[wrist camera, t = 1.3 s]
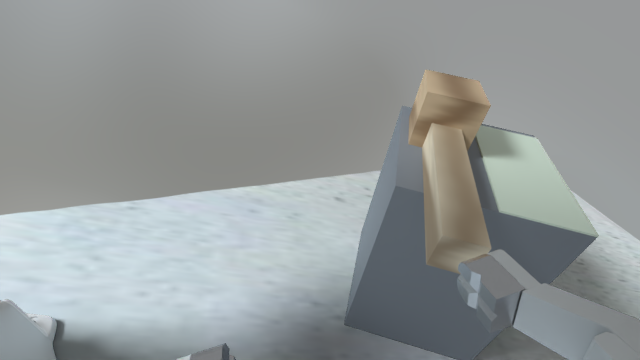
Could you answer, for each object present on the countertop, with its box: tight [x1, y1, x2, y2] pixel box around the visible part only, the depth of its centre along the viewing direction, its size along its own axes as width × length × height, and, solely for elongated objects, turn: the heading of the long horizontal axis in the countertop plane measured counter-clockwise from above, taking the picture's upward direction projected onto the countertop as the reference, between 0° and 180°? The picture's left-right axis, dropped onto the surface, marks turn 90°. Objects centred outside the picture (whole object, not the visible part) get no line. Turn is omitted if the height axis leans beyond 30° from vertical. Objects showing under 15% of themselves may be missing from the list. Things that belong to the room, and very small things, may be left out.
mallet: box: [408, 70, 492, 274], centre depth 28 cm, size 6×23×6 cm, turn 166°
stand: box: [344, 106, 599, 360], centre depth 42 cm, size 17×18×25 cm
